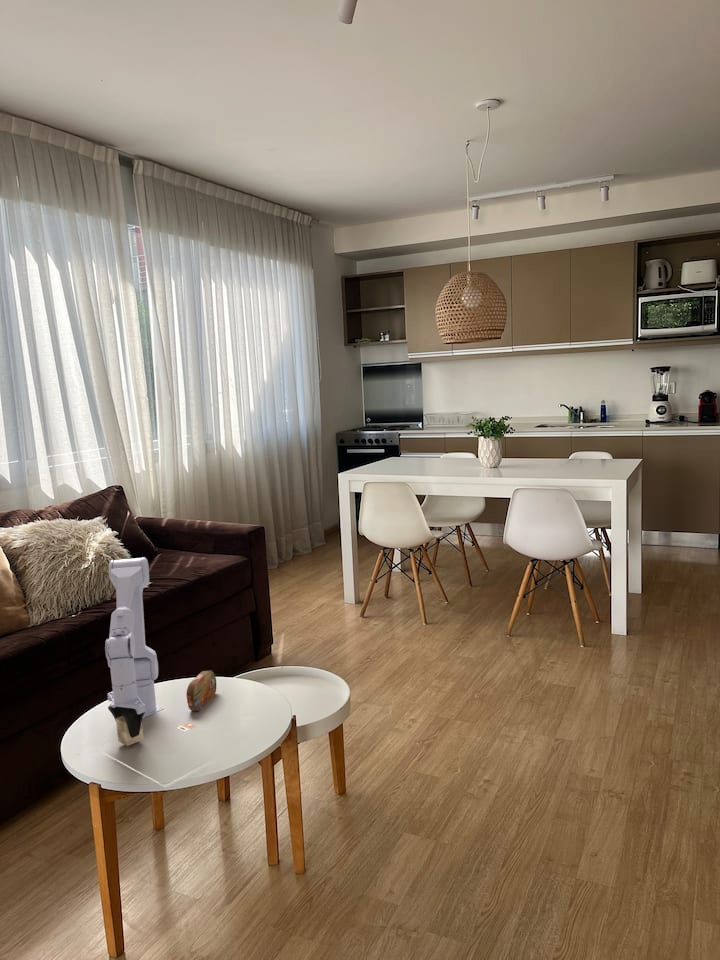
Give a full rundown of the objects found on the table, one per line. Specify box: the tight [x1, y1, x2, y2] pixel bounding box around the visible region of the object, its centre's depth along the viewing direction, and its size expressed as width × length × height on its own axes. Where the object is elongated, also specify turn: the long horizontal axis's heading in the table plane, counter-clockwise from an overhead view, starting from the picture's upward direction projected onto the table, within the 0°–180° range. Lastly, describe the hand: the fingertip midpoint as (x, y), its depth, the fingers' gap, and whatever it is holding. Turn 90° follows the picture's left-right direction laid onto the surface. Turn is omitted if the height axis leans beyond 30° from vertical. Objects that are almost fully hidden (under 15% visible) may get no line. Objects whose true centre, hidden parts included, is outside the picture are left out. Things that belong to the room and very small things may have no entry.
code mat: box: [176, 722, 196, 732], centre depth 188 cm, size 12×12×1 cm
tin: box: [185, 670, 217, 712], centre depth 202 cm, size 15×3×8 cm, turn 168°
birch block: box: [115, 716, 145, 747], centre depth 180 cm, size 4×4×6 cm
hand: (129, 733), depth 180 cm, fingers closed on birch block, 4 cm apart
